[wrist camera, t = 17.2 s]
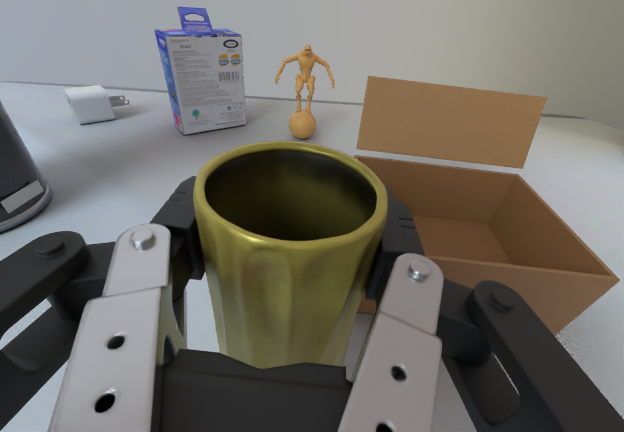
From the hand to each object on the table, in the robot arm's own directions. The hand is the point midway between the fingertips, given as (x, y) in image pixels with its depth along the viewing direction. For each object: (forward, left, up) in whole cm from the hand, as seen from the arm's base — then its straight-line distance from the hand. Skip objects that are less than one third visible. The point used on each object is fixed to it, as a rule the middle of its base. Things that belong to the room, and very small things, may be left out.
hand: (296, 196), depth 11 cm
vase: (0, -3, -12) cm, 12 cm away
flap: (+12, +17, -2) cm, 21 cm away
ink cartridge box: (-16, +34, -12) cm, 39 cm away
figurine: (-2, +34, -12) cm, 36 cm away
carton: (+12, +10, -12) cm, 19 cm away
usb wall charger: (-31, +32, -12) cm, 46 cm away
